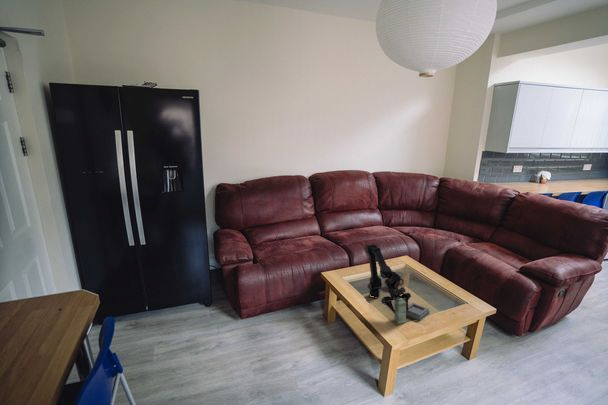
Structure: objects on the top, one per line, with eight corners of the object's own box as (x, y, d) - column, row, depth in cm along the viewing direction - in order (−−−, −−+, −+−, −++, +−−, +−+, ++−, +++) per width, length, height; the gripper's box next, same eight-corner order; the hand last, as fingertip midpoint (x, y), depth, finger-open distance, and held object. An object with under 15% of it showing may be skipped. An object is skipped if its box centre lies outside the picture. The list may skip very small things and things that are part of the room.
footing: (403, 313, 191) (403, 308, 191) (412, 307, 199) (412, 302, 198) (420, 321, 182) (420, 315, 182) (429, 313, 190) (429, 308, 189)
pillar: (394, 319, 185) (394, 299, 183) (401, 318, 186) (401, 298, 184) (398, 324, 180) (398, 303, 178) (405, 322, 181) (406, 301, 179)
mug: (403, 285, 231) (404, 273, 229) (403, 289, 224) (404, 277, 222) (390, 283, 235) (390, 272, 233) (389, 288, 227) (389, 276, 225)
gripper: (383, 285, 181) (393, 310, 172) (409, 280, 185) (420, 305, 177) (377, 291, 190) (386, 315, 181) (402, 287, 194) (412, 310, 185)
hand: (401, 311), depth 181 cm, fingers open, 9 cm apart
